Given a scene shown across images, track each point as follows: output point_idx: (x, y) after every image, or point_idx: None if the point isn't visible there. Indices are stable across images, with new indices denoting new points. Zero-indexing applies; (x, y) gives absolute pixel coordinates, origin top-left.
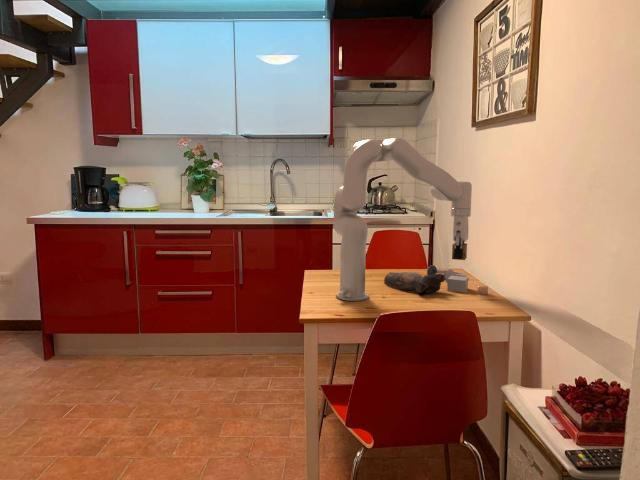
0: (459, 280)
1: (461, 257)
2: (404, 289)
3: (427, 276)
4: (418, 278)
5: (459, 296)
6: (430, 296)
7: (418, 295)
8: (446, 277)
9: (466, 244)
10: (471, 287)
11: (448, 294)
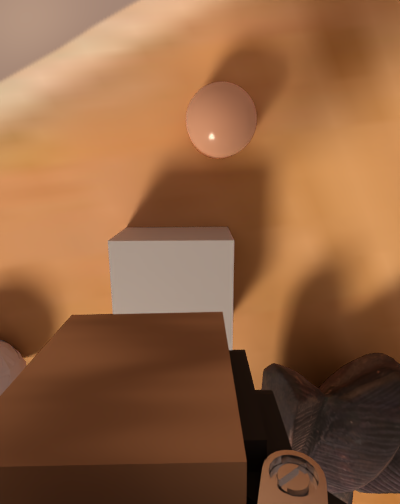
0: (233, 280)
1: (245, 363)
2: None
3: (380, 472)
4: None
5: (333, 240)
6: None
7: None
8: None
9: (47, 458)
10: (87, 210)
11: (311, 300)
